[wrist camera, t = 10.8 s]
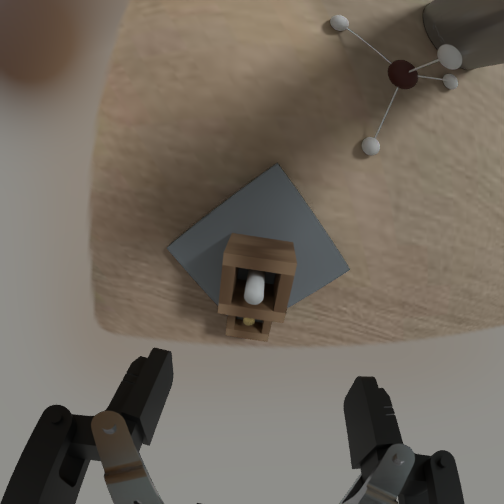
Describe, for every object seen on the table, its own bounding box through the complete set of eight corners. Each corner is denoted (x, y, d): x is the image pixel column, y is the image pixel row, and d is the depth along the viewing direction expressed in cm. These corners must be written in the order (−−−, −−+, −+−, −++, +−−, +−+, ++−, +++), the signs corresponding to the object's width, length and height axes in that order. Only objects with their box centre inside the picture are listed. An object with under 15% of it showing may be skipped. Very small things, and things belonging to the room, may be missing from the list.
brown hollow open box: (293, 242, 28) (297, 263, 23) (273, 331, 32) (273, 361, 27) (231, 232, 28) (223, 252, 23) (221, 323, 32) (214, 352, 27)
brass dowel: (251, 303, 31) (249, 314, 29) (257, 311, 31) (256, 322, 29) (242, 309, 31) (240, 319, 29) (249, 316, 31) (247, 327, 29)
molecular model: (360, 155, 25) (422, 171, 14) (326, 19, 20) (357, -45, 8) (462, 146, 23) (540, 162, 12) (433, 24, 18) (497, -9, 6)
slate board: (277, 162, 26) (279, 170, 19) (347, 264, 29) (366, 300, 23) (170, 243, 30) (144, 274, 23) (244, 326, 33) (237, 369, 27)
